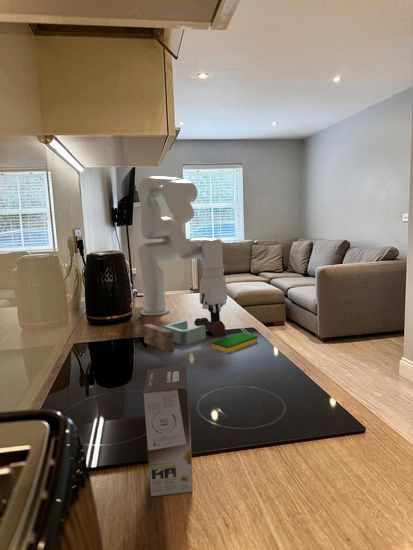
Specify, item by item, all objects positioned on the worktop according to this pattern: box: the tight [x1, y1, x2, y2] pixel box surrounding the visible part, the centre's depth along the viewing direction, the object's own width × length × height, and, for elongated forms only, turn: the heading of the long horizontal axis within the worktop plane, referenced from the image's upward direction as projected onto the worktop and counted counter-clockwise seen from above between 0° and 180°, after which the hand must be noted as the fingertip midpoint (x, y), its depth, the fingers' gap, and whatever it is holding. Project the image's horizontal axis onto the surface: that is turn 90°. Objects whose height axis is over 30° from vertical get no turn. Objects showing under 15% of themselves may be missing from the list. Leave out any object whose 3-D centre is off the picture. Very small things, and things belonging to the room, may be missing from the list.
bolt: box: [193, 317, 226, 337], centre depth 136 cm, size 6×5×15 cm
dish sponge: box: [211, 331, 259, 353], centre depth 120 cm, size 7×14×2 cm, turn 131°
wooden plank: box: [142, 323, 175, 353], centre depth 122 cm, size 14×2×6 cm, turn 41°
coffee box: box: [142, 365, 193, 497], centre depth 58 cm, size 9×6×16 cm
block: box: [162, 319, 207, 346], centre depth 129 cm, size 12×10×4 cm
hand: (215, 322), depth 138 cm, fingers closed
